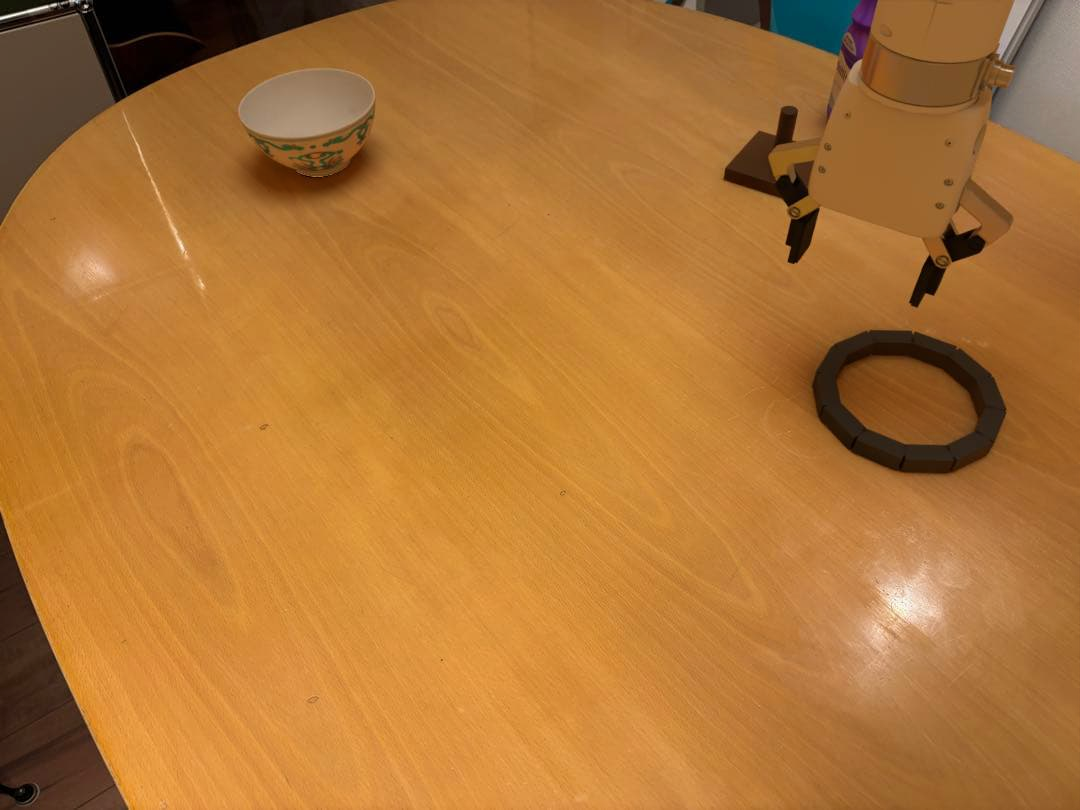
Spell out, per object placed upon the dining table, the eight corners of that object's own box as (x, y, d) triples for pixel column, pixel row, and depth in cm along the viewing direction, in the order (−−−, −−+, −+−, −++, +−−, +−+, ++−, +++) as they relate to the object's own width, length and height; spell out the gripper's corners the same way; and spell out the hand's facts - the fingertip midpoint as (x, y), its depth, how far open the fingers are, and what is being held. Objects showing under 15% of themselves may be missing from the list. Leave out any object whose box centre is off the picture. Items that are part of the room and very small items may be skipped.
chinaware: (237, 195, 98) (216, 133, 92) (284, 124, 108) (267, 65, 102) (365, 203, 96) (351, 141, 90) (400, 131, 106) (390, 70, 100)
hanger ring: (1016, 382, 75) (1024, 370, 74) (968, 501, 67) (975, 489, 66) (850, 322, 81) (854, 309, 80) (786, 424, 73) (790, 412, 72)
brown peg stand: (830, 163, 98) (846, 102, 93) (800, 203, 93) (814, 141, 88) (756, 141, 102) (767, 81, 96) (723, 179, 97) (732, 117, 91)
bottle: (817, 113, 106) (850, -38, 93) (863, 109, 106) (902, -42, 93) (837, 145, 101) (875, -9, 88) (885, 140, 101) (930, -13, 88)
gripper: (1081, 74, 54) (983, 286, 67) (816, 12, 61) (772, 216, 73) (1054, 128, 50) (955, 344, 63) (772, 55, 57) (734, 263, 69)
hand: (856, 274), depth 68 cm, fingers open, 9 cm apart
